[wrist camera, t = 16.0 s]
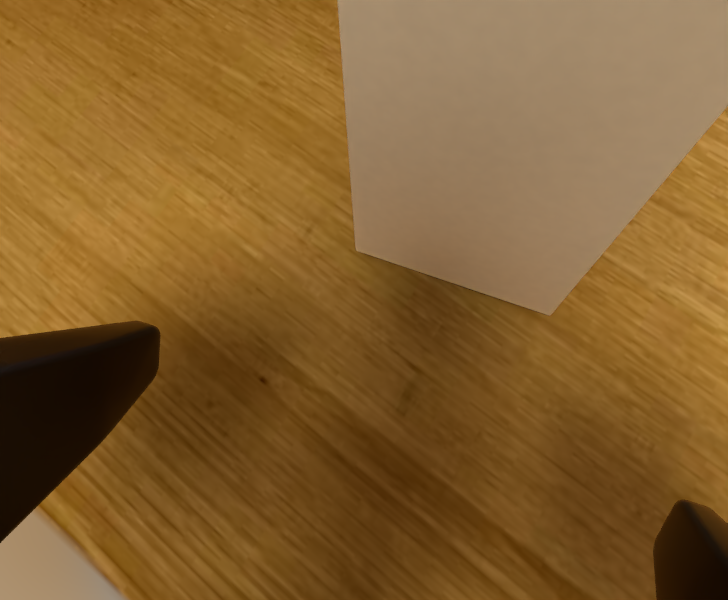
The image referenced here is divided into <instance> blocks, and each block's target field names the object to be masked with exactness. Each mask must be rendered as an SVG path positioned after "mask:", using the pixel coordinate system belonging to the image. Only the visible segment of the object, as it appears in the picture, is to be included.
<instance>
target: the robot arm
mask: <svg viewBox="0 0 728 600" xmlns="http://www.w3.org/2000/svg"><path fill="white" fill-rule="evenodd" d="M159 351H160V331H159V329H158V328H157V327H156V326H153V325H150V324H147V323H144V322H141V321H130V322H122V323H114V324H106V325H98V326H91V327H83V328H75V329H67V330H60V331H52V332H44V333H36V334H29V335H21V336H13V337H5V338H0V543H1V541H3V540H4V539H5V538H6V536H8V535H9V534H10V533H11V532H12V531H13V530H14V529H15V528H16V527H17V526H18V525H19V524H20V523H21V522H22V521H23V520H24V519H25V518H26V517H27V516H28V515H29V514H30V513H31V512H32V511H33V510H34V509H35V508H36V507H37V506H38V505H39V504H40V503H41V502H42V501H43V500H44V499H45V498H46V497H47V496H48V495H49V494H50V493H51V492H52V491H53V490H54V489H55V488H56V487H57V486H58V485H59V484H60V483H61V482H62V481H63V480H64V479H65V478H66V477H67V476H68V475H69V474H70V473H71V472H72V471H73V470H74V469H75V468H76V467H77V466H78V465H79V464H80V463H81V462H82V461H83V460H84V459H85V458H86V457H87V456H88V455H89V454H90V453H91V452H92V451H93V450H94V449H95V448H96V447H97V446H98V445H99V444H100V443H101V442H102V441H103V440H104V439H105V438H106V436H107V435H108V434H109V433H110V432H111V431H112V430H113V428H114V427H115V426H116V425H117V423H118V422H119V421H120V420H121V419H122V417H123V416H124V415H125V414H126V412H127V411H128V410H129V409H130V408H131V406H132V405H133V404H134V403H135V401H136V400H137V399H138V398H139V397H140V395H141V394H142V393H143V392H144V391H145V389H146V388H147V387H148V386H149V384H150V383H151V382H152V381H153V379H154V378H155V376H156V374H157V371H158V366H159ZM653 557H654V570H655V584H656V597H657V600H728V524H727V523H726V522H725V521H724V520H723V519H722V518H721V517H720V516H719V515H717V514H716V513H715V512H714V511H713V510H712V509H710V508H708V507H706V506H704V505H700V504H697V503H694V502H691V501H688V500H684V499H683V500H679V501H678V502H676V503H675V505H674V506H673V508H672V510H671V511H670V513H669V515H668V517H667V519H666V520H665V522H664V524H663V526H662V528H661V530H660V531H659V533H658V535H657V537H656V540H655V543H654V549H653Z"/></svg>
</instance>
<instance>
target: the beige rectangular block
mask: <svg viewBox="0 0 728 600" xmlns="http://www.w3.org/2000/svg"><path fill="white" fill-rule="evenodd" d="M338 13H339V27H340V41H341V55H342V69H343V83H344V96H345V110H346V124H347V138H348V152H349V166H350V179H351V193H352V207H353V221H354V235H355V249H356V251H359V252H362V253H365V254H368V255H370V256H373V257H376V258H379V259H382V260H385V261H388V262H391V263H394V264H397V265H400V266H403V267H406V268H409V269H412V270H415V271H418V272H421V273H424V274H427V275H430V276H433V277H436V278H439V279H442V280H445V281H448V282H451V283H454V284H457V285H460V286H463V287H465V288H468V289H471V290H474V291H477V292H480V293H483V294H486V295H489V296H492V297H495V298H498V299H501V300H504V301H507V302H510V303H513V304H516V305H519V306H522V307H525V308H528V309H531V310H534V311H537V312H540V313H543V314H546V315H549V316H550V315H551V314H552V313H553V312H554V311H555V310H556V308H557V307H558V306H559V305H560V304H561V302H562V301H563V300H564V299H565V298H566V297H567V295H568V294H569V293H570V292H571V291H572V289H573V288H574V287H575V286H576V285H577V284H578V282H579V281H580V280H581V279H582V278H583V276H584V275H585V274H586V273H587V272H588V271H589V269H590V268H591V267H592V266H593V265H594V263H595V262H596V261H597V260H598V259H599V258H600V256H601V255H602V254H603V253H604V252H605V250H606V249H607V248H608V247H609V246H610V245H611V243H612V242H613V241H614V240H615V239H616V237H617V236H618V235H619V234H620V233H621V232H622V230H623V229H624V228H625V227H626V226H627V224H628V223H629V222H630V221H631V220H632V219H633V217H634V216H635V215H636V214H637V213H638V211H639V210H640V209H641V208H642V207H643V206H644V204H645V203H646V202H647V201H648V200H649V198H650V197H651V196H652V195H653V194H654V193H655V191H656V190H657V189H658V188H659V187H660V186H661V184H662V183H663V182H664V181H665V180H666V178H667V177H668V176H669V175H670V174H671V173H672V171H673V170H674V169H675V168H676V167H677V165H678V164H679V163H680V162H681V161H682V160H683V158H684V157H685V156H686V155H687V154H688V152H689V151H690V150H691V149H692V148H693V147H694V145H695V144H696V143H697V142H698V141H699V139H700V138H701V137H702V136H703V135H704V134H705V132H706V131H707V130H708V129H709V128H710V126H711V125H712V124H713V123H714V122H715V121H716V119H717V118H718V117H719V116H720V115H721V113H722V112H723V111H724V110H725V109H726V108H727V106H728V0H338Z"/></svg>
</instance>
